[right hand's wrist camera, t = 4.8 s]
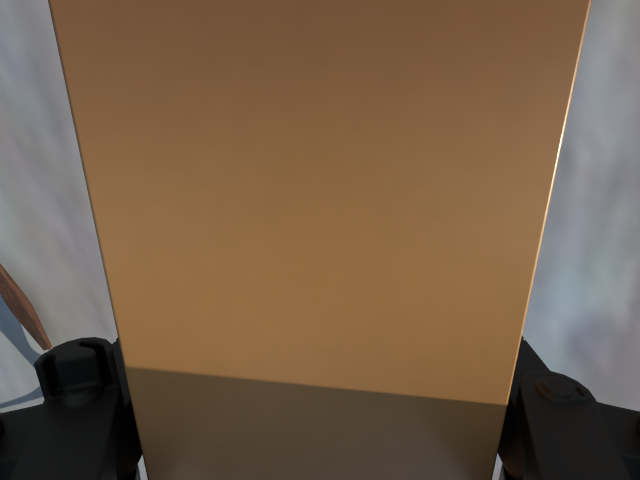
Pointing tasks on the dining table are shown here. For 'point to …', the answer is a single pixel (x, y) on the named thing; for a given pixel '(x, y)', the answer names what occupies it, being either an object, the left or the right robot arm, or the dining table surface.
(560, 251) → the dining table surface
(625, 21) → the dining table surface
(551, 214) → the dining table surface
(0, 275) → the fork
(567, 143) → the dining table surface
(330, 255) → the bar
